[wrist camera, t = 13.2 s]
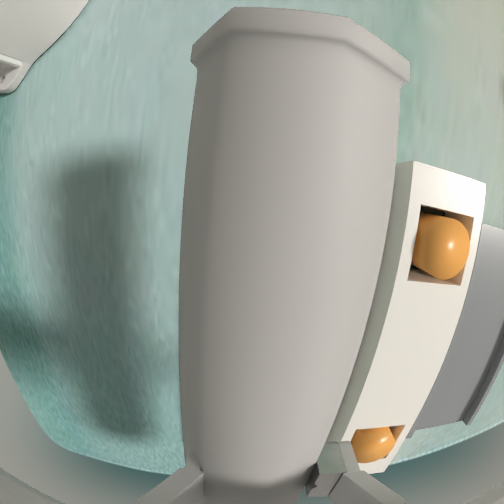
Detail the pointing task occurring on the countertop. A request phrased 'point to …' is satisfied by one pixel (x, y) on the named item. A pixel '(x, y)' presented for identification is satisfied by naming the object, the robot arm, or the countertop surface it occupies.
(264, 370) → the tube
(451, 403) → the tray
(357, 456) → the rear plunger
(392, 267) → the housing
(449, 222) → the front plunger
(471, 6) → the countertop surface
